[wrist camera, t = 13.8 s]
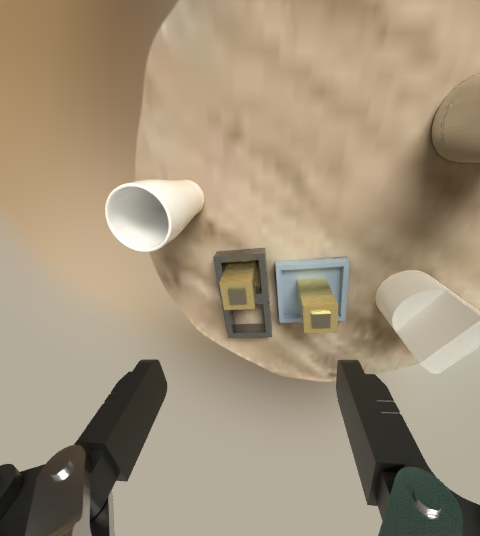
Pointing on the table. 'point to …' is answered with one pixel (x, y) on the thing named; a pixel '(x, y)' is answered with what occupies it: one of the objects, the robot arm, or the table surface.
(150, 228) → the white tapered cylinder
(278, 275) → the parts tray
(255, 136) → the table surface
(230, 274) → the square peg
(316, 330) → the gold square peg
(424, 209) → the table surface
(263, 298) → the frame
